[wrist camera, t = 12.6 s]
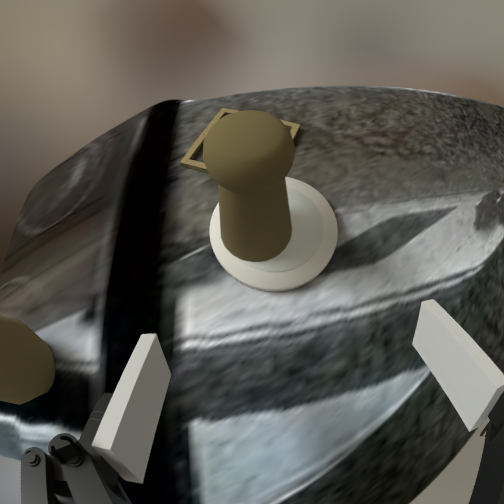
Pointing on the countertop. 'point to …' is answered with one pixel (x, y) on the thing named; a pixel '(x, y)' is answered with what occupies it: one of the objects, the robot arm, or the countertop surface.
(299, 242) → the saucer
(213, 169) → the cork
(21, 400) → the squeeze bottle
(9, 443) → the countertop surface
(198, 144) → the square frame
